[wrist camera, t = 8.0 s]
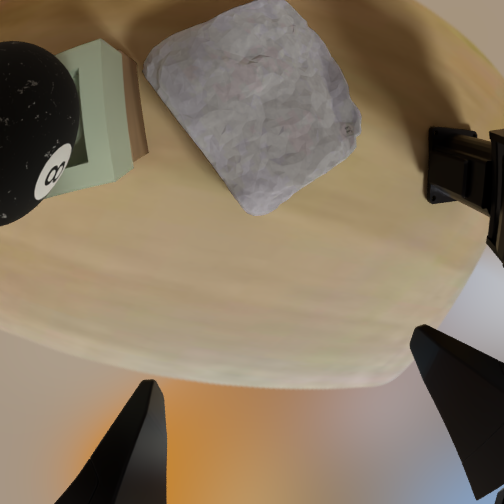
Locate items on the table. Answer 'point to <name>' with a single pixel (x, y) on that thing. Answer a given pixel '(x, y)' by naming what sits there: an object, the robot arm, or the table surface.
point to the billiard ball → (33, 126)
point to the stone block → (258, 100)
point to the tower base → (133, 109)
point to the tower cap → (96, 119)
